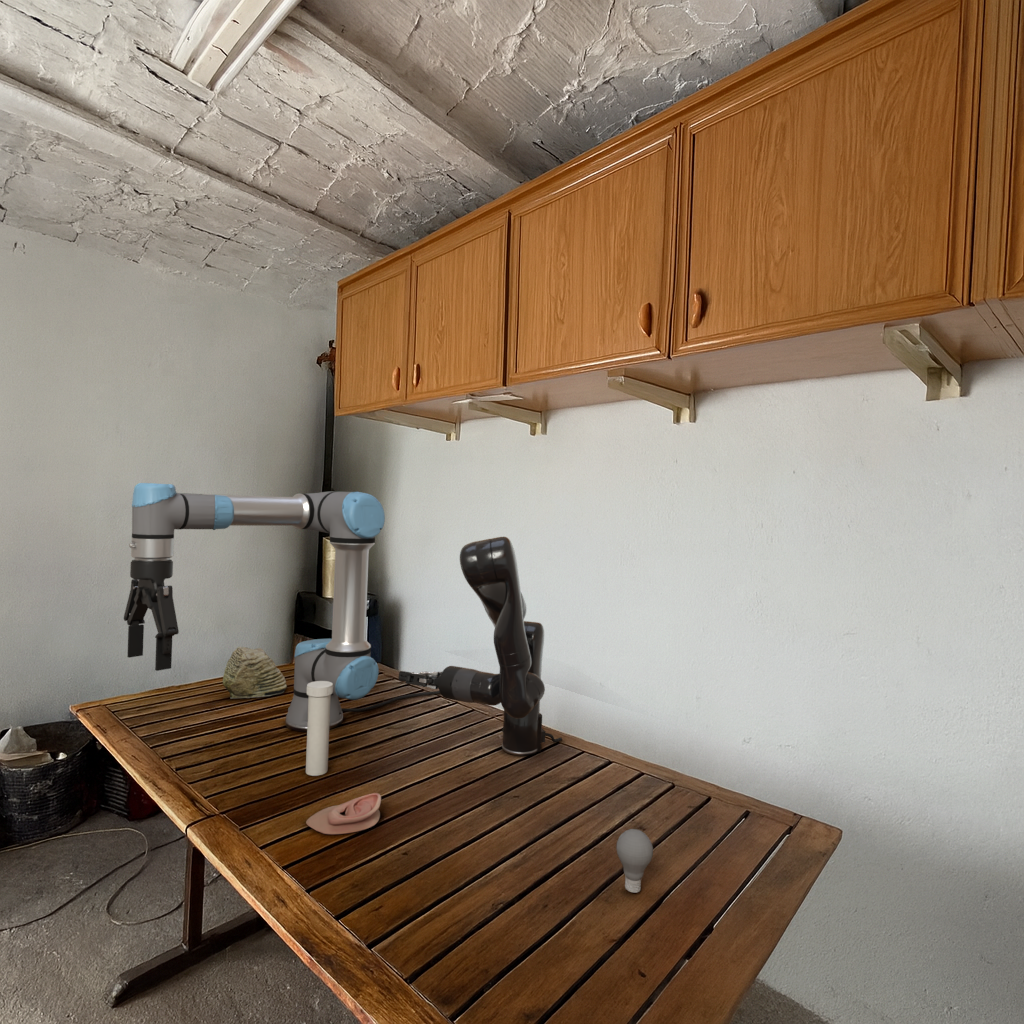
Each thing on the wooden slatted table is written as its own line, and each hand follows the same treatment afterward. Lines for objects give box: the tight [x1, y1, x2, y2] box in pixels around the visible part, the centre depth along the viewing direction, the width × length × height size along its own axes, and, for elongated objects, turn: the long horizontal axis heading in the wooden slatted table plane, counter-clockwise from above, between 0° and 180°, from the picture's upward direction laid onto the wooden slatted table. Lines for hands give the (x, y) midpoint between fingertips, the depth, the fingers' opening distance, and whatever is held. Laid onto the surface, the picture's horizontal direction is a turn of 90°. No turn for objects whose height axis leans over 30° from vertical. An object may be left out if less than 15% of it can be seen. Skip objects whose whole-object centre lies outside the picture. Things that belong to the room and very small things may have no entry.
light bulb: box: [615, 828, 654, 894], centre depth 106 cm, size 6×6×10 cm
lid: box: [307, 681, 333, 697], centre depth 146 cm, size 6×6×2 cm
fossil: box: [222, 646, 288, 699], centre depth 198 cm, size 9×18×15 cm, turn 132°
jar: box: [305, 695, 331, 777], centre depth 146 cm, size 5×5×20 cm
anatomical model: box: [305, 792, 382, 835], centre depth 124 cm, size 13×4×12 cm
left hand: (148, 662), depth 129 cm, fingers open, 13 cm apart
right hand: (411, 675), depth 156 cm, fingers open, 8 cm apart
